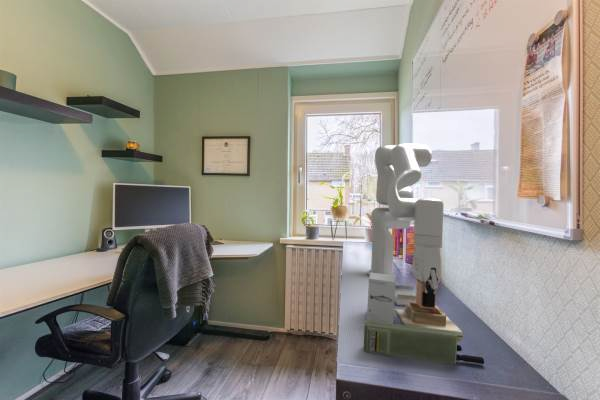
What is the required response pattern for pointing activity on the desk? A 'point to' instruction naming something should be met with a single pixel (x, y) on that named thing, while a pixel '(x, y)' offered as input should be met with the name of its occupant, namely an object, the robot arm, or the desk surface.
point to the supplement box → (381, 298)
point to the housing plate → (404, 294)
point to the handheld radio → (415, 343)
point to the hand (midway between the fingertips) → (425, 302)
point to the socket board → (425, 317)
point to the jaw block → (419, 293)
